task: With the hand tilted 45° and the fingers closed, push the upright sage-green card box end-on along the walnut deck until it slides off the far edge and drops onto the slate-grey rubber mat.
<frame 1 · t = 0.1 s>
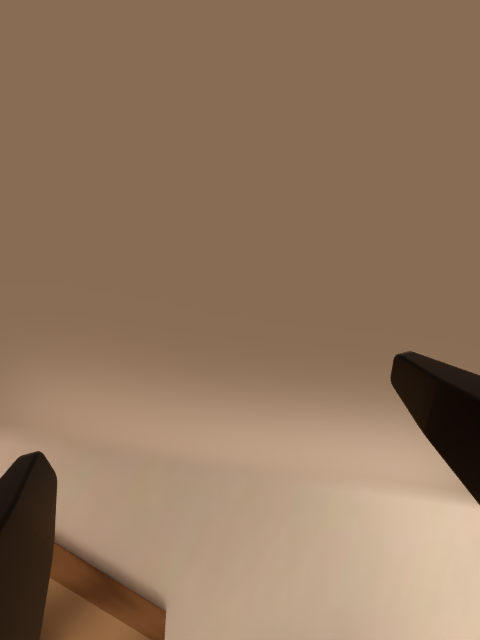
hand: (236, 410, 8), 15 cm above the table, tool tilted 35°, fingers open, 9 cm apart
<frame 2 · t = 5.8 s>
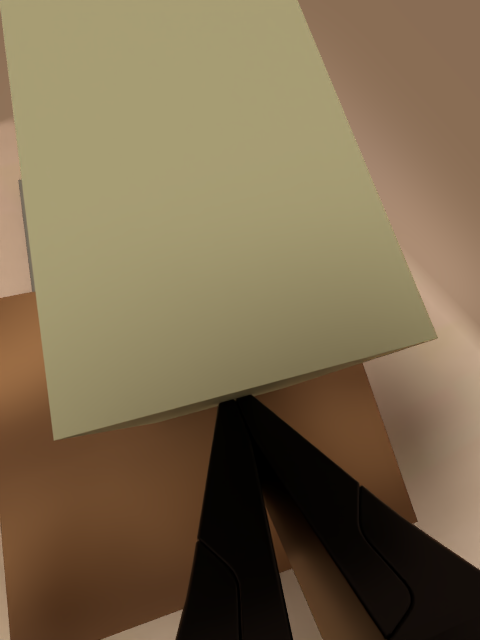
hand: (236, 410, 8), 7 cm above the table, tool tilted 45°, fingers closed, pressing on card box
mat: (139, 226, 17), on the table
deck: (197, 410, 15), on the table
card box: (200, 318, 14), point 3 cm above the table, touching gripper
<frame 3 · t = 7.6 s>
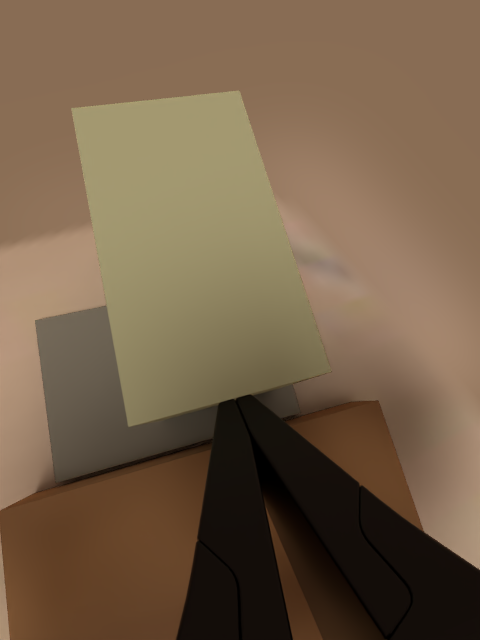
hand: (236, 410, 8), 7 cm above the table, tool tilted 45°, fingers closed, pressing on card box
mat: (170, 368, 15), on the table
deck: (241, 598, 13), on the table
card box: (225, 402, 11), point 4 cm above the table, tilted 91°, touching gripper, mat
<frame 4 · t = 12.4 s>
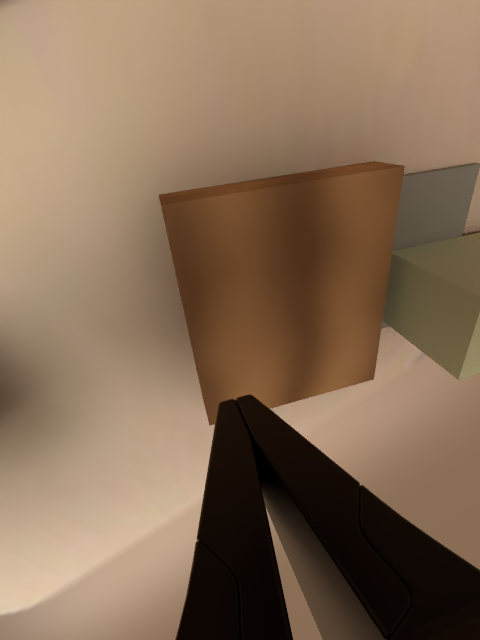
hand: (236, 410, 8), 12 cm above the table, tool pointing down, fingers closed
mat: (411, 254, 23), on the table
deck: (278, 294, 21), on the table
card box: (420, 310, 20), point 4 cm above the table, tilted 90°, touching mat
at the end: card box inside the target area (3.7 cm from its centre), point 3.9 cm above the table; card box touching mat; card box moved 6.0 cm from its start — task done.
